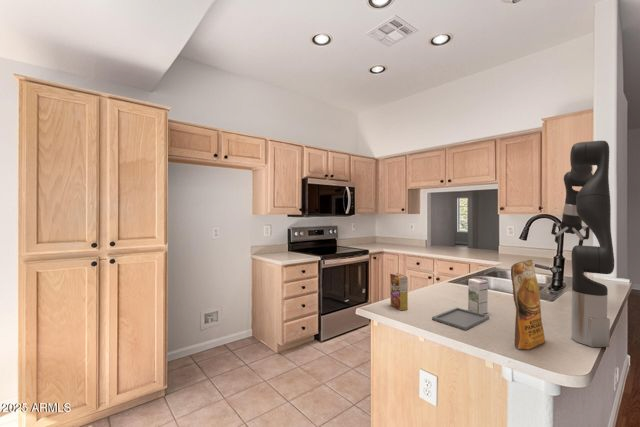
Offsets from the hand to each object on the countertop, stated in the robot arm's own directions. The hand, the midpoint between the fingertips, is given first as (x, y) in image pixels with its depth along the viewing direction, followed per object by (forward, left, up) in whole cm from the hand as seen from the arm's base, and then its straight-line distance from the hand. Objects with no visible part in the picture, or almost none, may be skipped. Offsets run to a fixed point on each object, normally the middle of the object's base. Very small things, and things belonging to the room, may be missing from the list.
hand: (568, 244), depth 149 cm
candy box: (-12, +86, -29) cm, 91 cm away
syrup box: (-17, +52, -29) cm, 61 cm away
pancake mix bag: (-48, +50, -29) cm, 75 cm away
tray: (-26, +63, -28) cm, 74 cm away
